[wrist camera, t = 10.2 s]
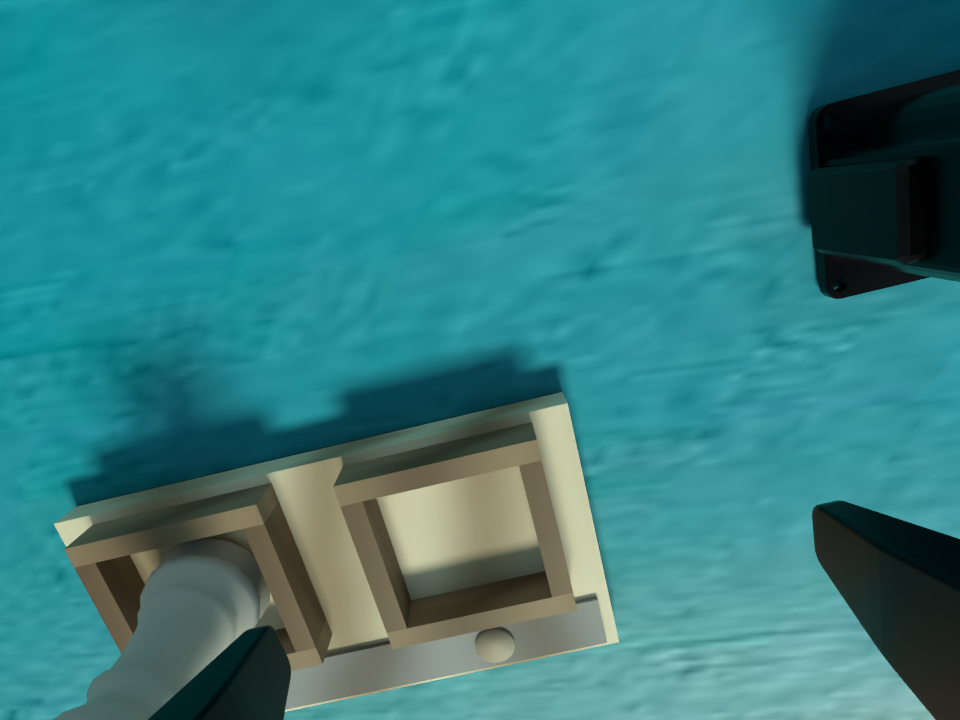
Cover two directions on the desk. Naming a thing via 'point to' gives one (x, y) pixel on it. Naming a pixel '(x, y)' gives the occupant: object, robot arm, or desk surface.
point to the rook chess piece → (179, 628)
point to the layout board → (384, 550)
